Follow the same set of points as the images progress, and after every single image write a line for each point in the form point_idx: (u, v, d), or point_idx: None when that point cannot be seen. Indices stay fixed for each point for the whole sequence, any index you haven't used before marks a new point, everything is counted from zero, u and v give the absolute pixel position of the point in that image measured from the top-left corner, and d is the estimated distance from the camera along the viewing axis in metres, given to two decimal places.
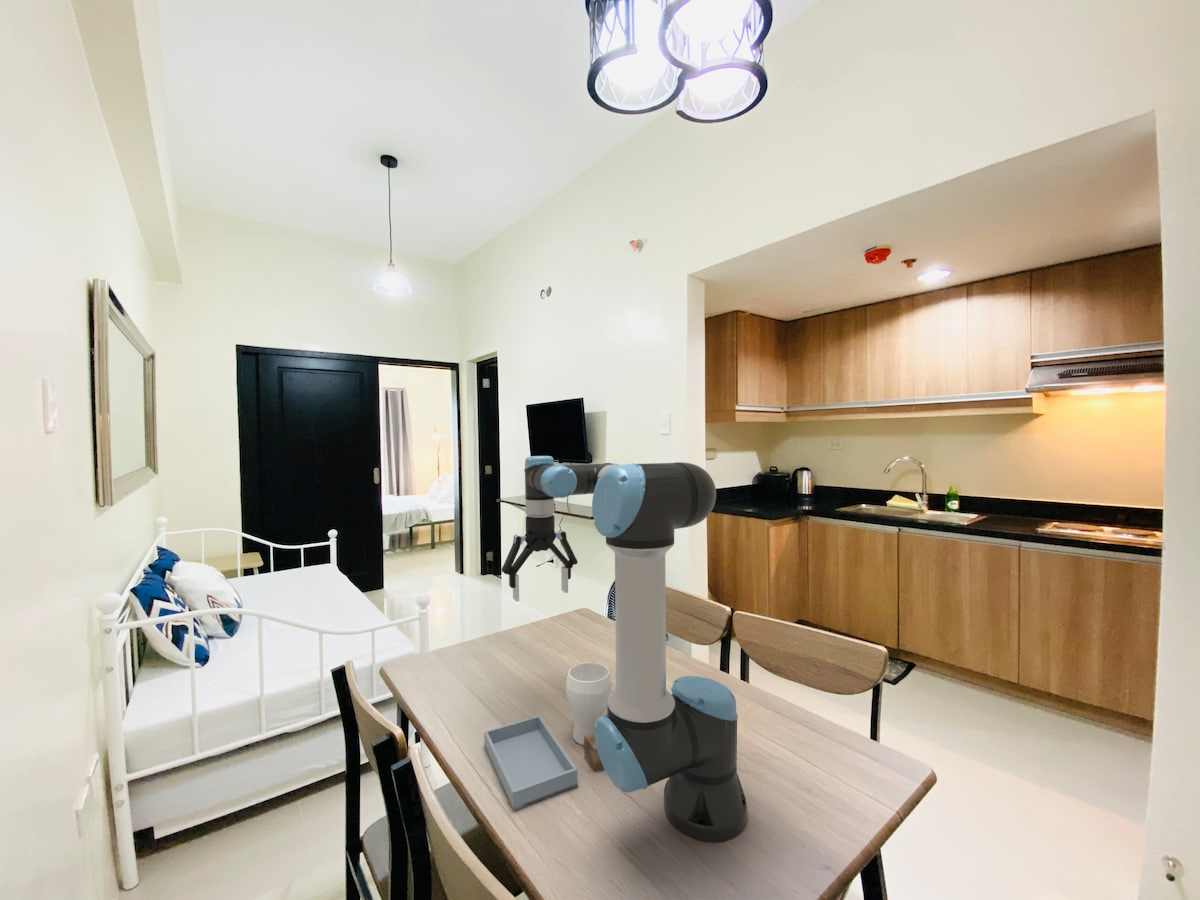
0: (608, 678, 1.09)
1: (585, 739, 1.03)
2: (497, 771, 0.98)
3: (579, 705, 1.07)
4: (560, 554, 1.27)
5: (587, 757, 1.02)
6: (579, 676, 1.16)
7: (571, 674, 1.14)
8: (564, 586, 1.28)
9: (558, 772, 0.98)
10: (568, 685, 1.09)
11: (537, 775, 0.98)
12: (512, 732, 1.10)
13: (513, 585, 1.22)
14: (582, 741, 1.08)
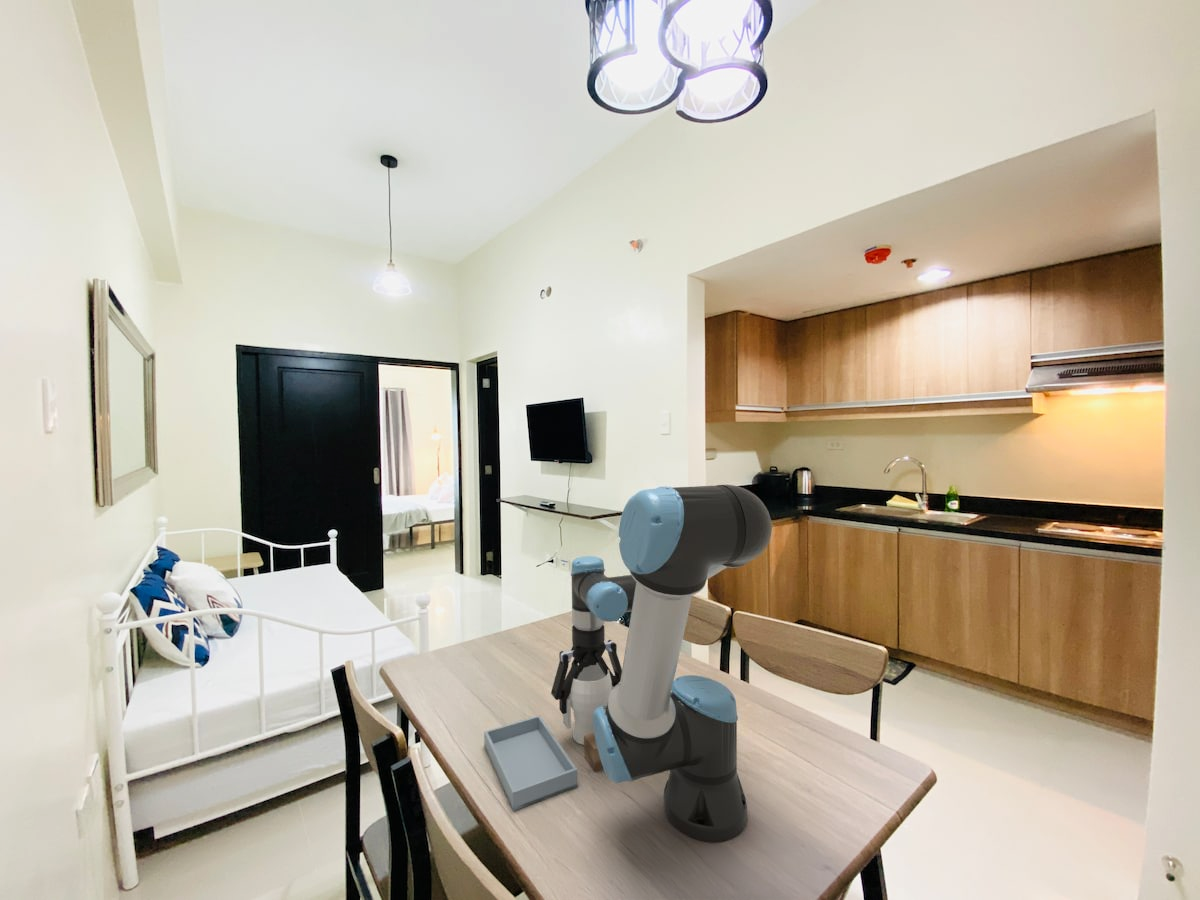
0: (608, 678, 1.10)
1: (585, 739, 1.03)
2: (497, 771, 0.98)
3: (579, 705, 1.07)
4: None
5: (587, 757, 1.02)
6: (579, 676, 1.16)
7: None
8: None
9: (558, 772, 0.98)
10: None
11: (537, 775, 0.98)
12: (512, 732, 1.10)
13: (564, 710, 1.08)
14: (582, 741, 1.08)
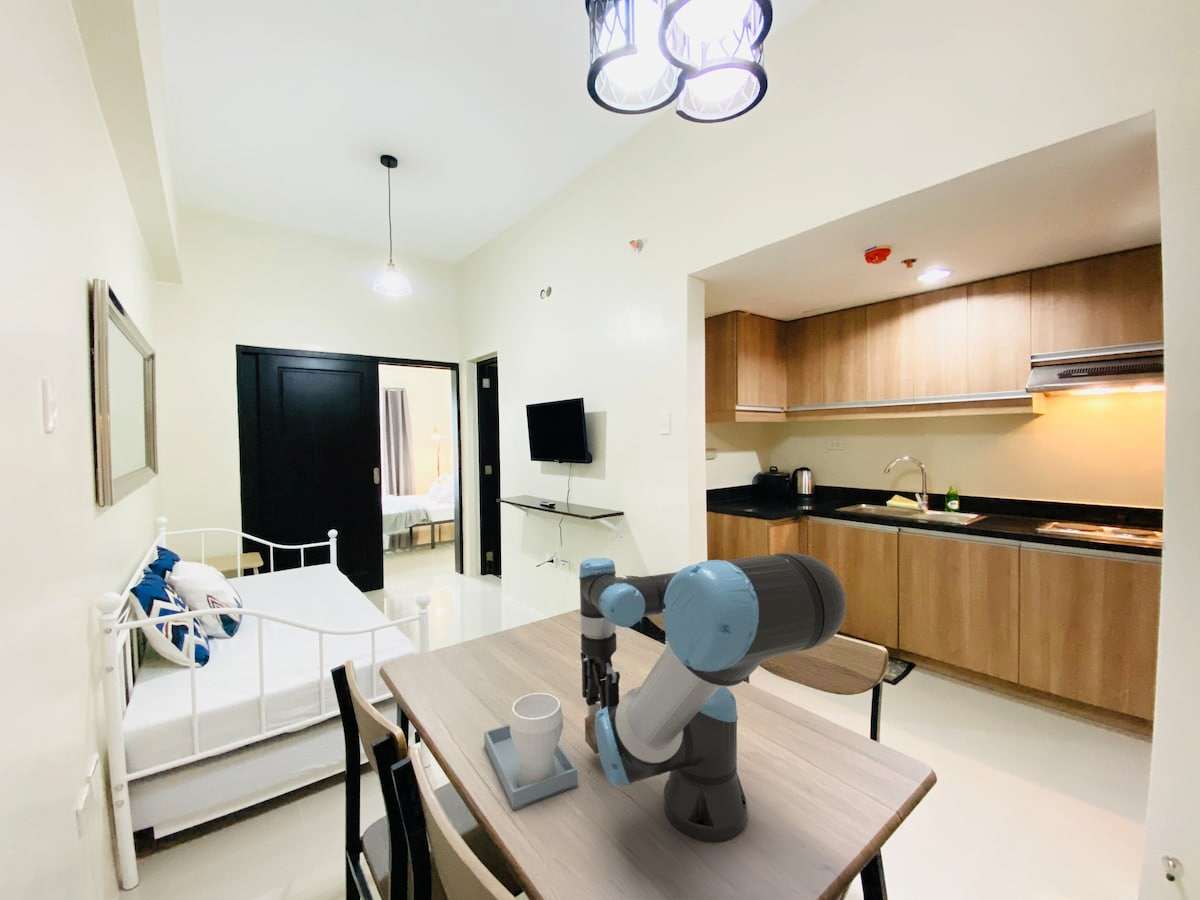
0: (558, 713, 0.95)
1: (586, 721, 1.02)
2: (497, 771, 0.98)
3: (522, 746, 0.92)
4: (601, 696, 0.99)
5: (588, 739, 1.01)
6: (527, 709, 1.01)
7: (517, 707, 0.99)
8: None
9: (558, 772, 0.98)
10: (511, 722, 0.94)
11: None
12: None
13: None
14: None
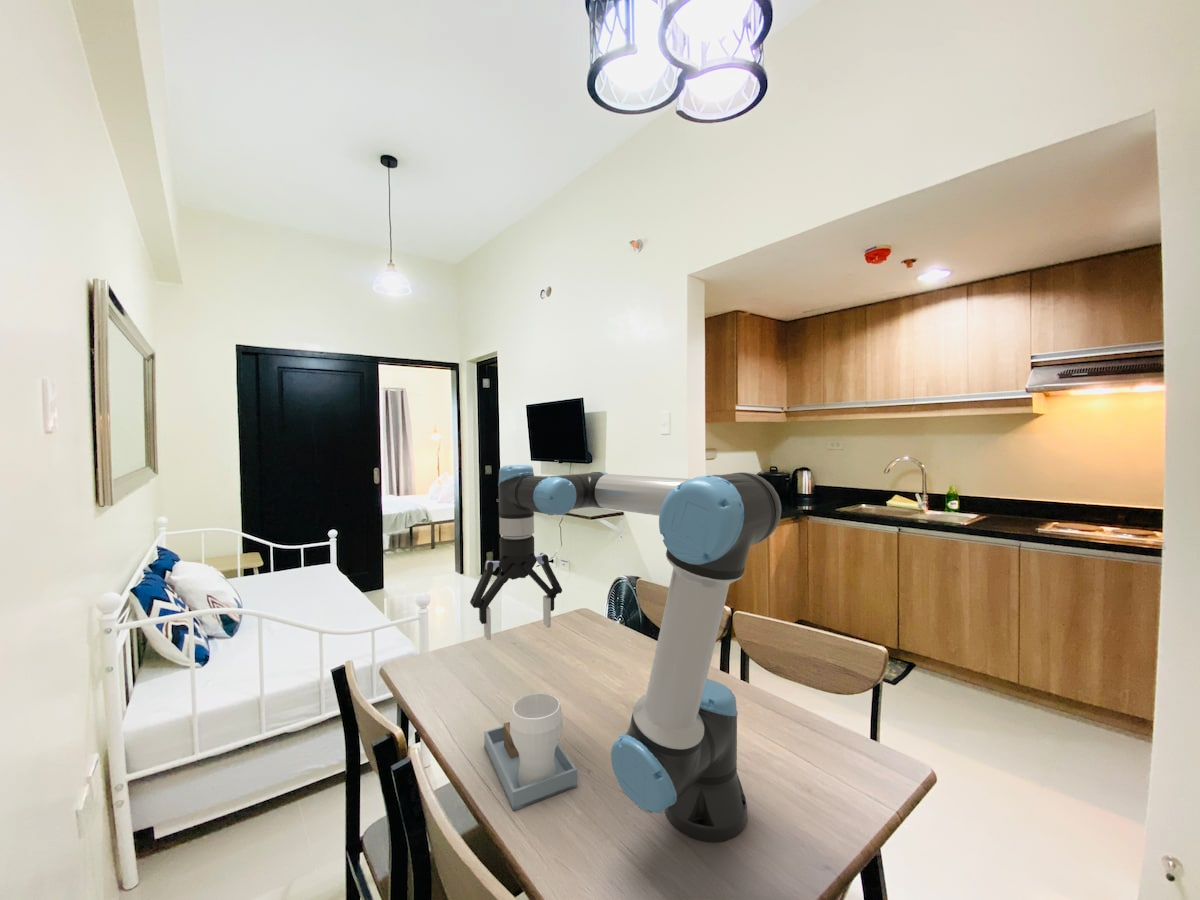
0: (558, 713, 0.95)
1: None
2: (497, 771, 0.98)
3: (523, 746, 0.92)
4: (541, 582, 1.07)
5: None
6: (527, 709, 1.01)
7: (517, 707, 0.99)
8: (546, 620, 1.08)
9: (558, 772, 0.98)
10: (511, 722, 0.94)
11: None
12: None
13: (484, 620, 1.01)
14: None
